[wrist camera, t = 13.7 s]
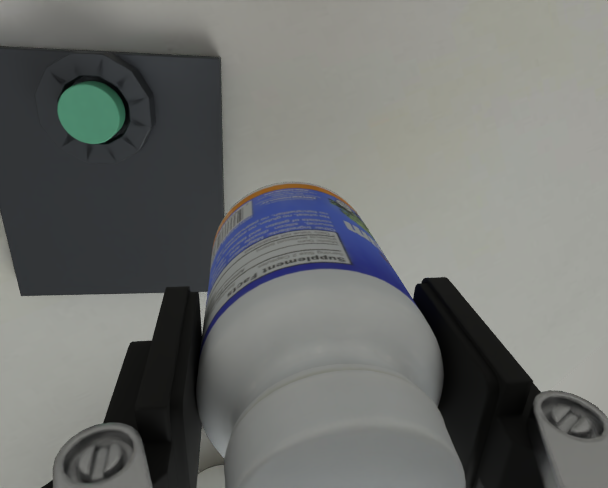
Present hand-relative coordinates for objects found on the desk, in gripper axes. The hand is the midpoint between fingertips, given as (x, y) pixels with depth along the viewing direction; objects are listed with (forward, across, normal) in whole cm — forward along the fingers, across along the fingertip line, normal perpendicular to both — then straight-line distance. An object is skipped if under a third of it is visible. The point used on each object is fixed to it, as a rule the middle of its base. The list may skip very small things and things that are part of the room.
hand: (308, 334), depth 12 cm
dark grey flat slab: (+22, +10, +3) cm, 24 cm away
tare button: (+19, +10, -2) cm, 21 cm away
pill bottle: (+5, 0, 0) cm, 5 cm away
